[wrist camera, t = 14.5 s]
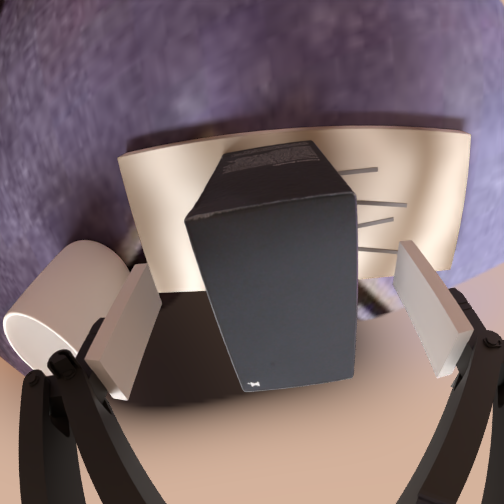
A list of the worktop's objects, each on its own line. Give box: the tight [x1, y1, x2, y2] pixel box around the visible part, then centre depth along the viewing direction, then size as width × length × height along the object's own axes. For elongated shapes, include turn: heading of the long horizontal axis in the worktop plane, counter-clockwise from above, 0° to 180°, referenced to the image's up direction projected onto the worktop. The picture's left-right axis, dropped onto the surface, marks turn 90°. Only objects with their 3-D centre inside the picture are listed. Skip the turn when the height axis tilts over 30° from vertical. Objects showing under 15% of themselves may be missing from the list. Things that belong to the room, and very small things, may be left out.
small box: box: [184, 140, 358, 392], centre depth 17 cm, size 11×6×10 cm, turn 11°
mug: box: [3, 240, 130, 376], centre depth 23 cm, size 9×12×11 cm
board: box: [118, 126, 471, 293], centre depth 22 cm, size 26×12×2 cm, turn 97°
